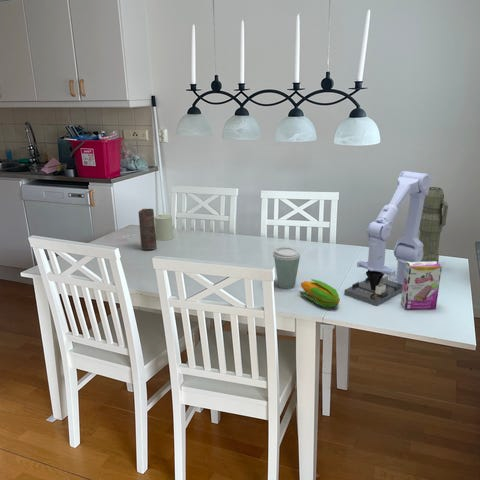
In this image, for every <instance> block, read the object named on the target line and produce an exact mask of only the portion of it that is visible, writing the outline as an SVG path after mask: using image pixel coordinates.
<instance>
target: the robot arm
mask: <svg viewBox="0 0 480 480" xmlns="http://www.w3.org/2000/svg"><path fill="white" fill-rule="evenodd" d="M429 187H431V178H430V175H429V174H428V173H426V172H424V173H422V172H415V171H408V170H403V171H401V172H400V173H399V175H398V178H397V188H396V190H395V192H394V194H393V196H392V197H391V199H390V202H389V203H388V204H385V205H384V206H383V207H382V209H381V210H380V212H379V214H378V215H377V217H376V219H375V220H374V221H372V222H370V223H369V224H368V226H367V229H366V234H367V240H368V243H369V246H368V260H367V261H363V260H359V261H357V266H356V267H357V268H363V269H366V271H365V275H366V276H367V277H366V278H368V279H369V282H370V286H371V290H373V291H375V290H376V286H377V285H379V283H380V280H381V279H382V277H383V276H384V275H388V276H389V277H391V278H393V277H395V276H396V278H394V279H393V280H392V281H393V282H396V283H400V284H403V279H404V271H405V262H420V261H421V260H422V258H423V243H422V242H421V241H420V240H419V233H420V230H419V227H420V222H421V216H422V211H423V205H424V200H425V196H426V195H428V191H429ZM408 196H409V197H410V198H409V203H408V209H407V215H406V220H405V226H404V233H403V236H401V237H399V238H398V239H397V240H396V243H395V246H394V248H393V256H394V257H395V258H396V260H395V261H397V268H396V270H395V269H392V268H390V267H388V266H386V265H385V262H386V261H385V260H386V259H385V258H386V250H387V249H386V248H387V247H386V246H387V239H388V238H389V237H390V236H391V231H392V228H393V223H394V222H395V220H396V218H397V217H398V215H399V209H400V207H401V205H402V204H403V203H404V202H405V200H406V199H407V197H408Z"/></svg>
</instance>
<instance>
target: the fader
mask: <svg viewBox="0 0 480 480" xmlns="http://www.w3.org/2000/svg"><path fill="white" fill-rule="evenodd" d="M388 280H389V275H386V274H384V276H383V277H382V279H381V280H380V283H379V284H383V285H384V284H386V283H388Z"/></svg>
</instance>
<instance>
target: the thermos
mask: <svg viewBox="0 0 480 480" xmlns="http://www.w3.org/2000/svg"><path fill="white" fill-rule="evenodd" d="M444 193H445V192H444V190H443V188H442V187H436V186H429V191H428V195H426V196H425V200H424V205H423V211H422V216H421V222H420V227H419V235H418V239H419V240H420V241H421V242H422V243H423V258H422V260H421V261H420V262H430V261H436V262H437V263H439V260H440V255H439V247H440V246H439V245H440V237H441V232H442V231H443V227H445V226H446V223H447V221H446V220H447V216H448V211H449V209H448V208H449V205H448V203H447V201H445V194H444Z"/></svg>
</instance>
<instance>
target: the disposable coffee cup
mask: <svg viewBox="0 0 480 480" xmlns="http://www.w3.org/2000/svg"><path fill="white" fill-rule="evenodd" d="M272 257H273V258H274V267H275V272H276V278H277V285H278V287H280V288H281V289H285V290H287V289H292V288H294V287H295V285H296V281H297V275H298V271H299V270H298V269H299V264H300V259H301V258H300V257H301V253H300V251H299V250H298V249H296V248H294V247H290V246H277V247H276V248H274V251H273V253H272Z"/></svg>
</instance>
